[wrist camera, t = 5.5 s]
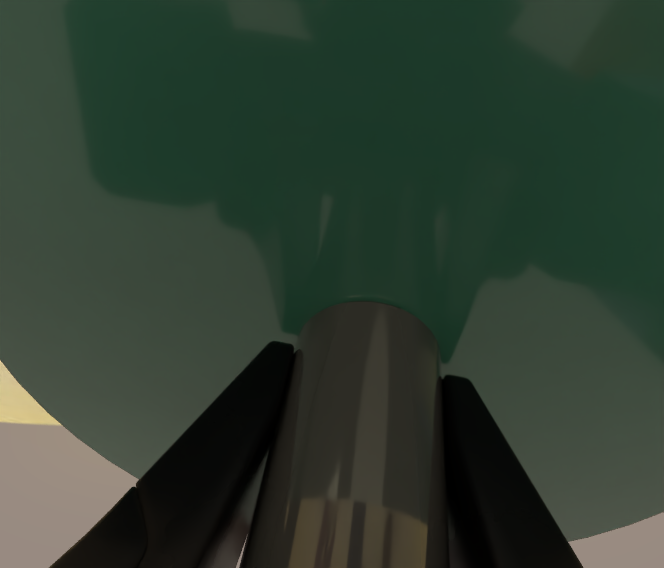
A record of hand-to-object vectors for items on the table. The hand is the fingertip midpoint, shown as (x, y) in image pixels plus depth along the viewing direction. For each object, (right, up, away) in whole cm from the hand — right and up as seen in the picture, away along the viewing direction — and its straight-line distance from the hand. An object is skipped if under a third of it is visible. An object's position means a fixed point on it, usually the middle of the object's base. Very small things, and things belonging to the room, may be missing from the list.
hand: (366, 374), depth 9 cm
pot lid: (0, +1, +1) cm, 1 cm away
